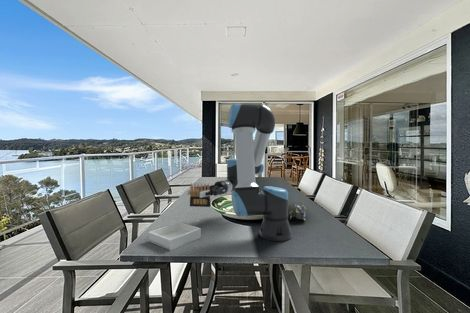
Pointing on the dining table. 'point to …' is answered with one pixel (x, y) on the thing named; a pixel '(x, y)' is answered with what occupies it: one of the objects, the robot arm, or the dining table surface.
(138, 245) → the dining table surface
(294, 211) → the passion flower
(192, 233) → the tray
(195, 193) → the ammunition clip
